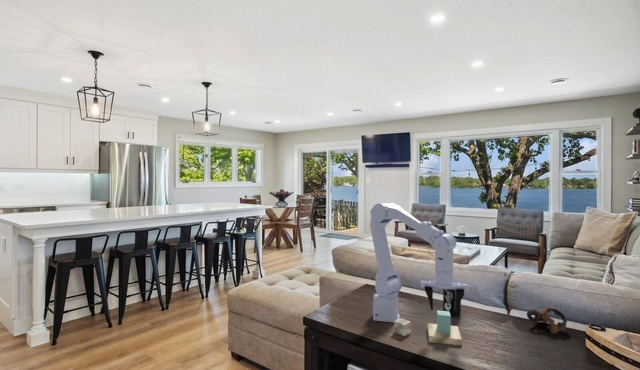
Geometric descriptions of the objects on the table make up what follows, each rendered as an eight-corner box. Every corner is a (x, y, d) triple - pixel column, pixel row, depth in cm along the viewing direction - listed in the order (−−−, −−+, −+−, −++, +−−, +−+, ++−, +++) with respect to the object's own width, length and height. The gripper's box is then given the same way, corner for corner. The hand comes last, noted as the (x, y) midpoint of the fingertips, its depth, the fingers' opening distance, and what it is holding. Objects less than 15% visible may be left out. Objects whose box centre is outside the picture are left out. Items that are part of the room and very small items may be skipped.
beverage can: (462, 317, 132) (462, 286, 132) (444, 315, 133) (444, 285, 133) (459, 310, 139) (459, 281, 138) (441, 309, 140) (442, 280, 140)
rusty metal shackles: (553, 323, 127) (564, 308, 123) (562, 345, 119) (574, 330, 115) (519, 313, 129) (529, 298, 125) (525, 334, 121) (536, 319, 117)
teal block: (437, 332, 115) (437, 314, 115) (436, 327, 119) (437, 310, 118) (450, 333, 114) (450, 316, 114) (449, 328, 118) (449, 311, 117)
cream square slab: (429, 341, 112) (429, 335, 112) (427, 328, 122) (427, 323, 122) (461, 345, 110) (461, 339, 110) (457, 331, 120) (457, 326, 120)
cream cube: (394, 332, 119) (394, 321, 119) (401, 329, 122) (401, 318, 122) (404, 336, 116) (404, 325, 116) (410, 333, 119) (410, 321, 119)
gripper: (421, 271, 113) (421, 312, 114) (469, 274, 110) (468, 316, 110) (421, 266, 120) (421, 304, 121) (465, 269, 117) (465, 308, 117)
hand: (443, 310), depth 116 cm, fingers open, 7 cm apart
